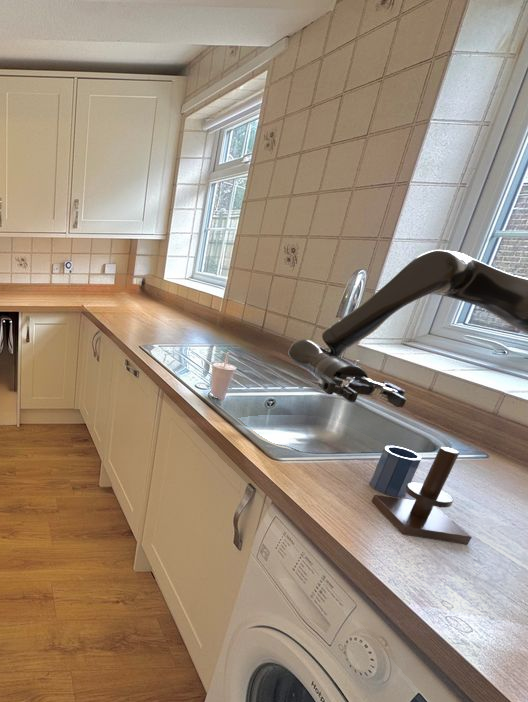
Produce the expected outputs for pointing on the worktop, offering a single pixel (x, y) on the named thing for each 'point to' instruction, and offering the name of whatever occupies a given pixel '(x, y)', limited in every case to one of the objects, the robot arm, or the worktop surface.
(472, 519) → the worktop surface
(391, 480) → the blue hollow faceted cylinder
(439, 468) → the stand
